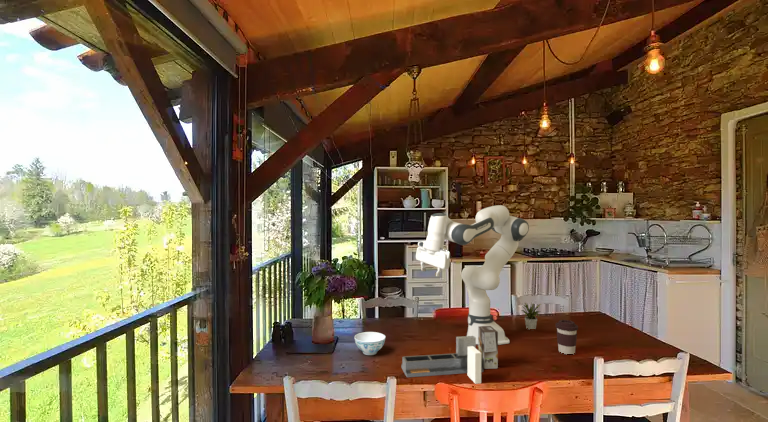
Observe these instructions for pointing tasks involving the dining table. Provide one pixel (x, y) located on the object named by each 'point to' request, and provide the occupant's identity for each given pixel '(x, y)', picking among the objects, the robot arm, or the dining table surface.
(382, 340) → the chinaware
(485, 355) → the coffee box
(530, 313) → the house plant
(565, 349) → the coffee cup
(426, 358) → the panel rack
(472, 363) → the panel
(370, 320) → the dining table surface
